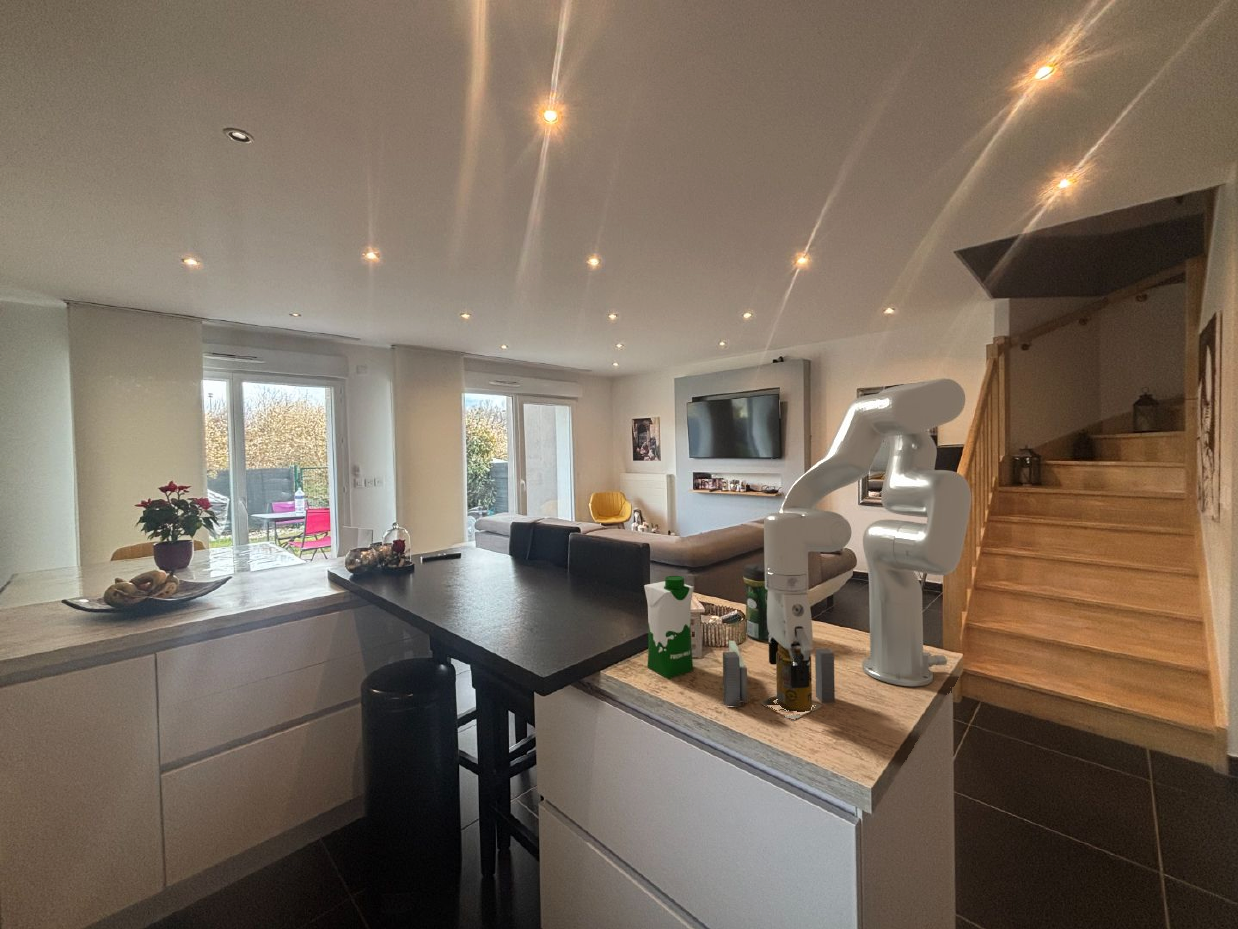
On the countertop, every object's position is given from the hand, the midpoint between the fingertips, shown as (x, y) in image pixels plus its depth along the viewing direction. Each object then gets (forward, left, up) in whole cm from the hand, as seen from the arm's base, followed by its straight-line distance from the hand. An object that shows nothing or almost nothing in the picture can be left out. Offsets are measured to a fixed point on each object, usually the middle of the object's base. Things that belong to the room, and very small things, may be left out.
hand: (788, 674), depth 88 cm
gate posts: (+2, -1, -5) cm, 6 cm away
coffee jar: (-8, -34, -6) cm, 35 cm away
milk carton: (+19, -17, -6) cm, 26 cm away
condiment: (0, +1, -6) cm, 6 cm away
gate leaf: (+7, -7, -5) cm, 11 cm away
